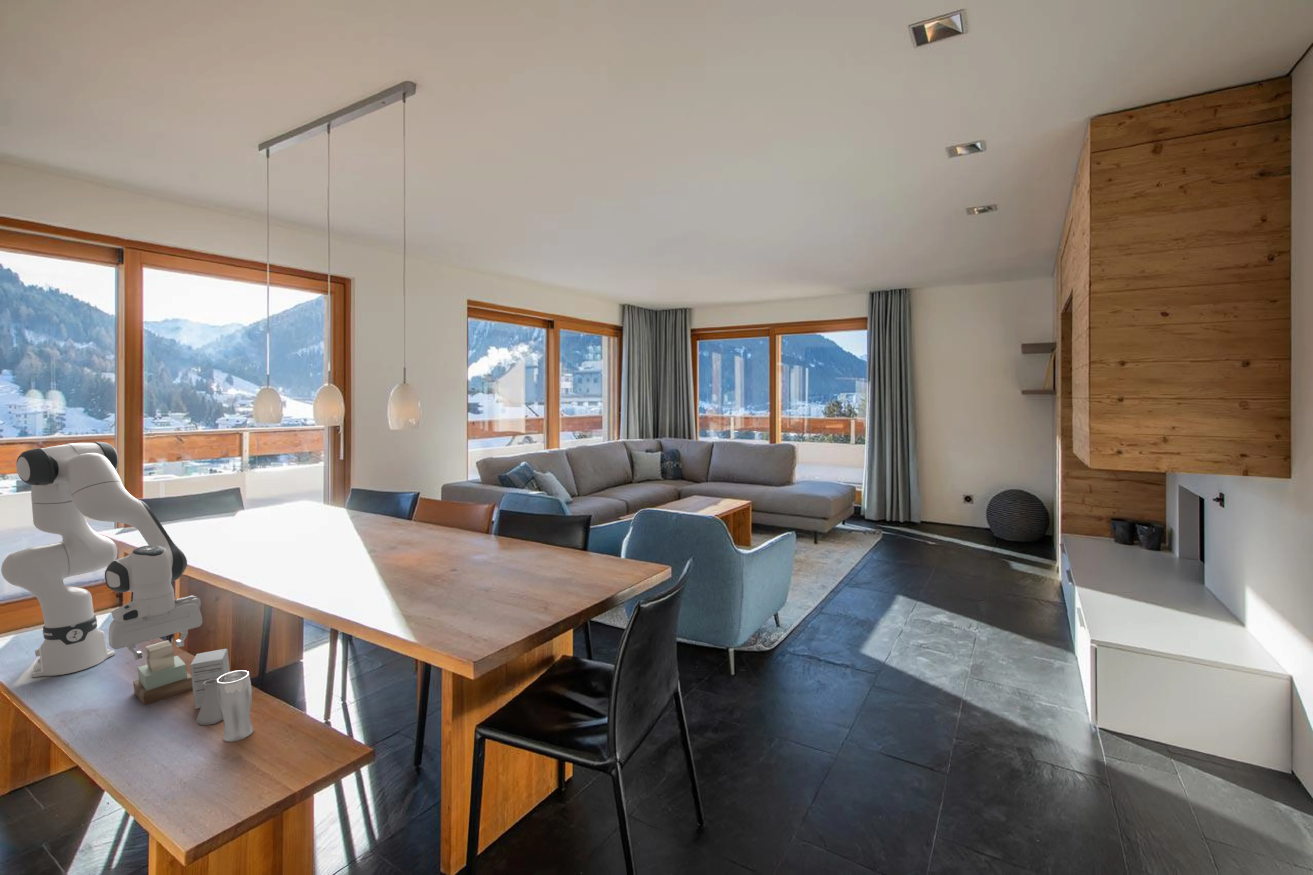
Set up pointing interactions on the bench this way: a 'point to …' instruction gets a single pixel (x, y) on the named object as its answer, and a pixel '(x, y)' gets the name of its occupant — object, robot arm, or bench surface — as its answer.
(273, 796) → the bench surface
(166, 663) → the birch block
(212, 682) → the flask
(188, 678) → the tower base slab
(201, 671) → the supplement box
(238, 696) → the beer glass
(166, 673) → the tower top block
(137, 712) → the bench surface
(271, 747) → the bench surface
